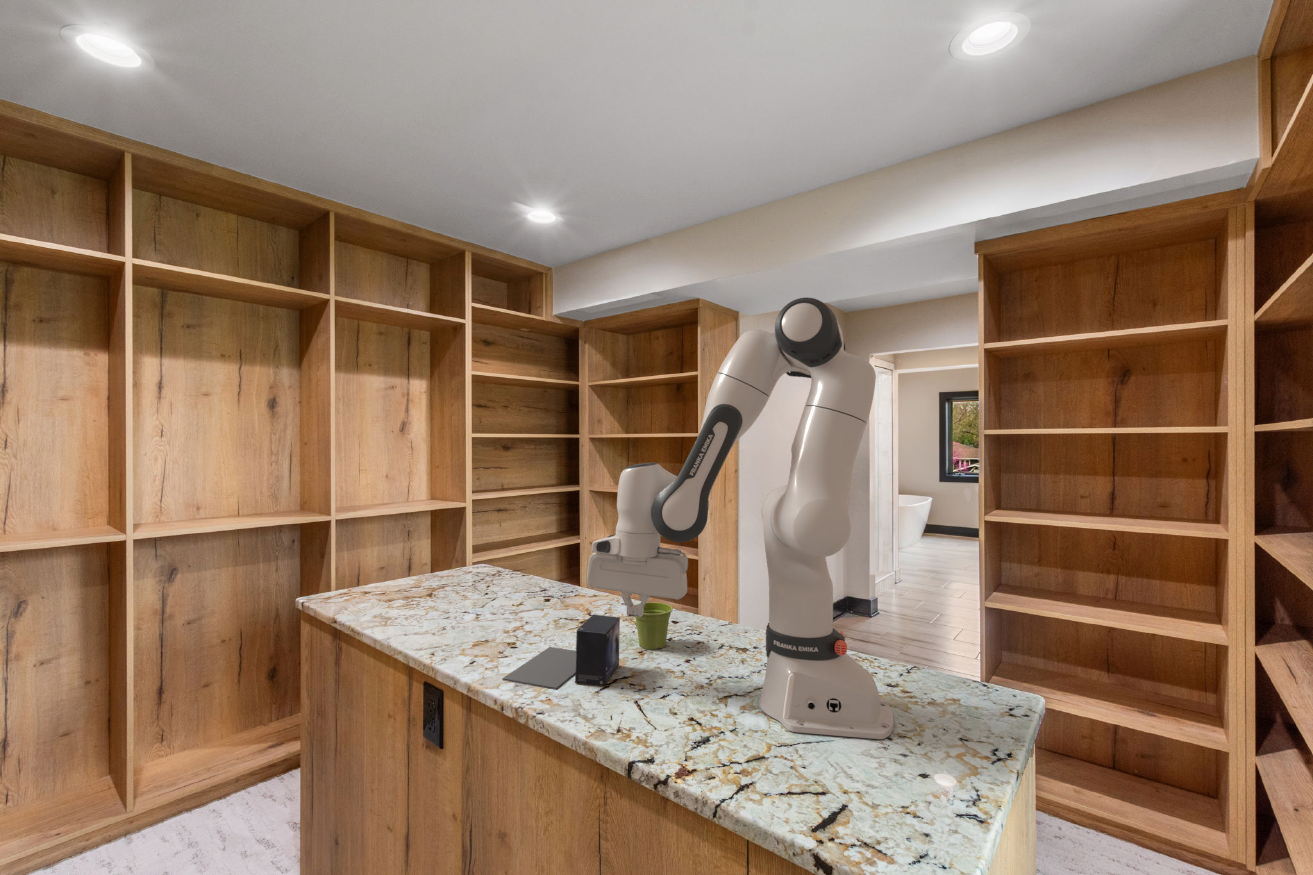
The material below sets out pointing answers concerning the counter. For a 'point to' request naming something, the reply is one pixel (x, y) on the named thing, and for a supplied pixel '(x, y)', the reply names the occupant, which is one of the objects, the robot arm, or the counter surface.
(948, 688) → the counter surface
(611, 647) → the small box
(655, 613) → the plant pot
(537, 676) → the mat
